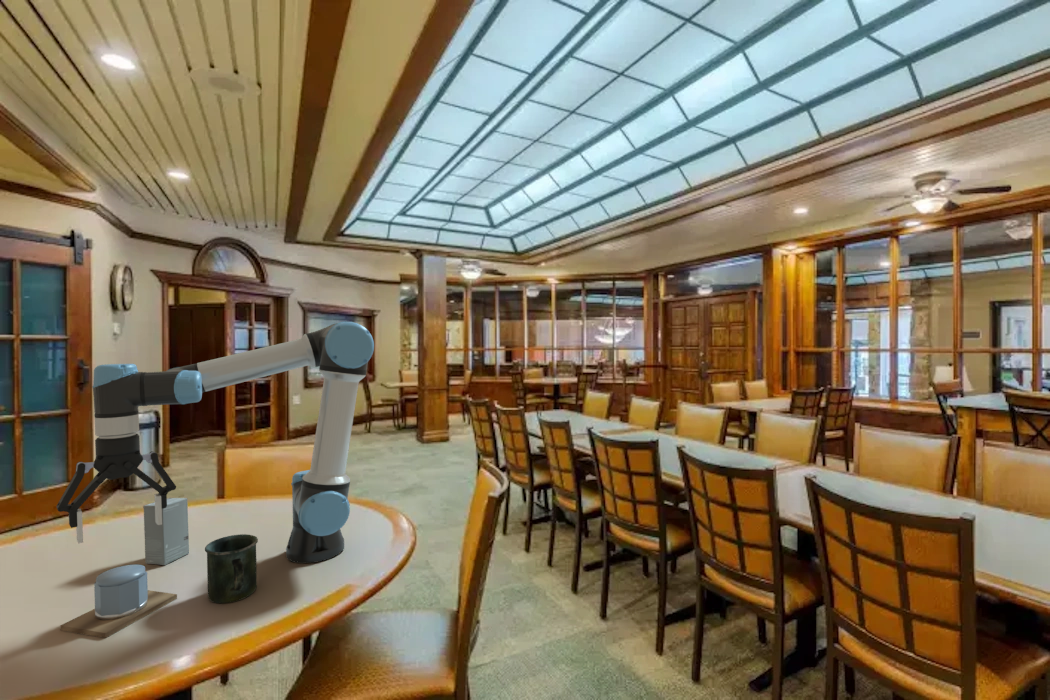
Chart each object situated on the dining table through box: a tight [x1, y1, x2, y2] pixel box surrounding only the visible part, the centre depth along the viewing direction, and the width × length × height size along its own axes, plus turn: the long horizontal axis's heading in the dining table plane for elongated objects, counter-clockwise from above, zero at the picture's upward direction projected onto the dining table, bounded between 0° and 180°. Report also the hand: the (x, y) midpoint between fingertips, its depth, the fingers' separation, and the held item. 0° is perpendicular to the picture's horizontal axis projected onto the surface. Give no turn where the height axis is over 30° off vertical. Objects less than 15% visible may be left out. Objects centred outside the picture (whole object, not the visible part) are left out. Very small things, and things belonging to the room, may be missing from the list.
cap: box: [93, 564, 149, 616], centre depth 112 cm, size 8×8×7 cm
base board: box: [59, 589, 178, 639], centre depth 112 cm, size 12×16×1 cm
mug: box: [204, 533, 259, 604], centre depth 119 cm, size 11×15×12 cm
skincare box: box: [142, 497, 190, 566], centre depth 140 cm, size 8×7×16 cm
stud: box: [95, 600, 147, 620], centre depth 112 cm, size 9×9×6 cm
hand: (121, 532), depth 112 cm, fingers open, 13 cm apart
